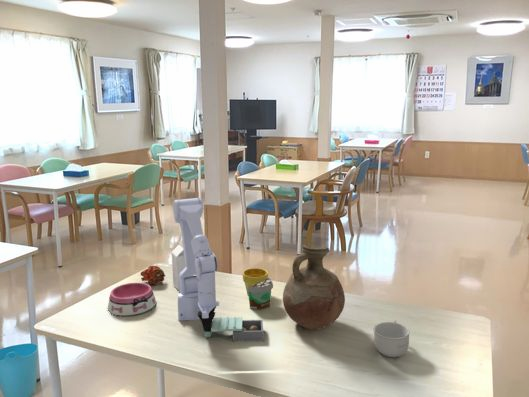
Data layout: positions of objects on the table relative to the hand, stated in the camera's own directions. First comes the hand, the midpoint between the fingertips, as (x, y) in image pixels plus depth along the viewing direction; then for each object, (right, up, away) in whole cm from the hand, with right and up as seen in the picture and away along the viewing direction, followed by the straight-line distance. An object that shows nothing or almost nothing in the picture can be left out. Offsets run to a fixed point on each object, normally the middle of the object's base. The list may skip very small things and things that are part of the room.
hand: (207, 328), depth 152 cm
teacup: (+60, -5, -7) cm, 60 cm away
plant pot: (+15, +4, +35) cm, 38 cm away
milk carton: (-16, +6, +43) cm, 46 cm away
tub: (+13, -3, +1) cm, 14 cm away
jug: (+36, -2, +9) cm, 37 cm away
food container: (+19, +1, +23) cm, 30 cm away
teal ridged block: (+5, -2, +1) cm, 6 cm away
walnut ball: (+15, -2, +2) cm, 16 cm away
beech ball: (+11, -3, 0) cm, 12 cm away
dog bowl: (-33, +1, +25) cm, 41 cm away
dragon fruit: (-30, +6, +47) cm, 56 cm away
